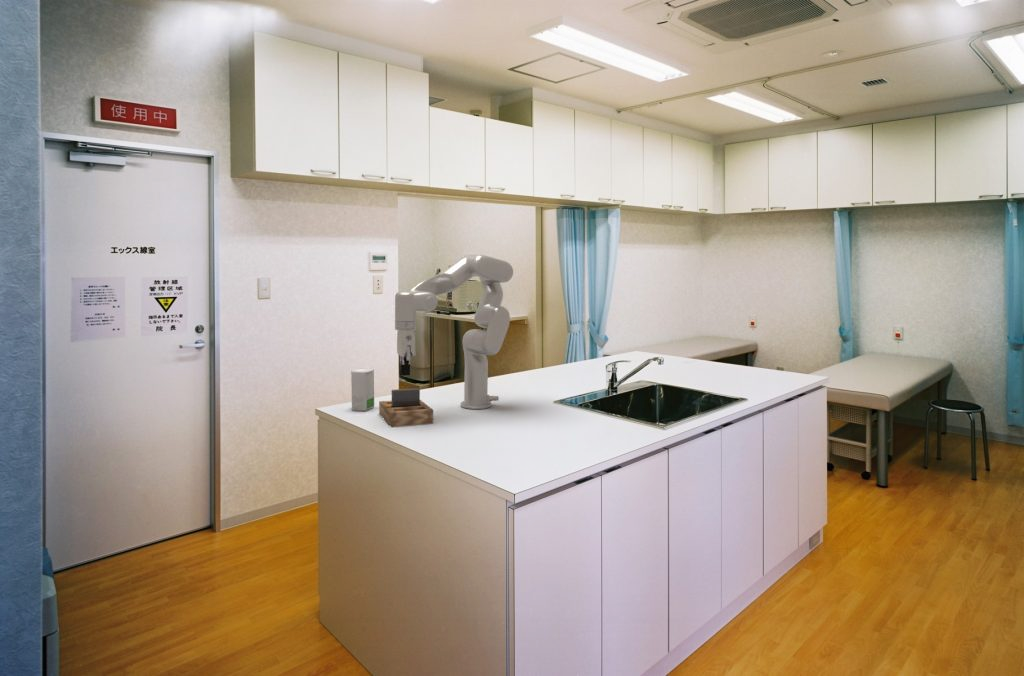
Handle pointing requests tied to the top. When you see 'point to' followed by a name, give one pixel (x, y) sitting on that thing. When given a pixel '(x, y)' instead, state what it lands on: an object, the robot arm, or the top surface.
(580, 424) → the top surface
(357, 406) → the skincare box
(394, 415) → the rack
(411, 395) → the panel
